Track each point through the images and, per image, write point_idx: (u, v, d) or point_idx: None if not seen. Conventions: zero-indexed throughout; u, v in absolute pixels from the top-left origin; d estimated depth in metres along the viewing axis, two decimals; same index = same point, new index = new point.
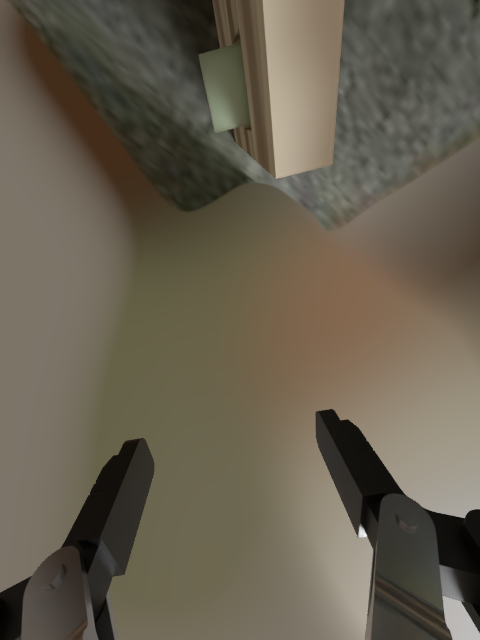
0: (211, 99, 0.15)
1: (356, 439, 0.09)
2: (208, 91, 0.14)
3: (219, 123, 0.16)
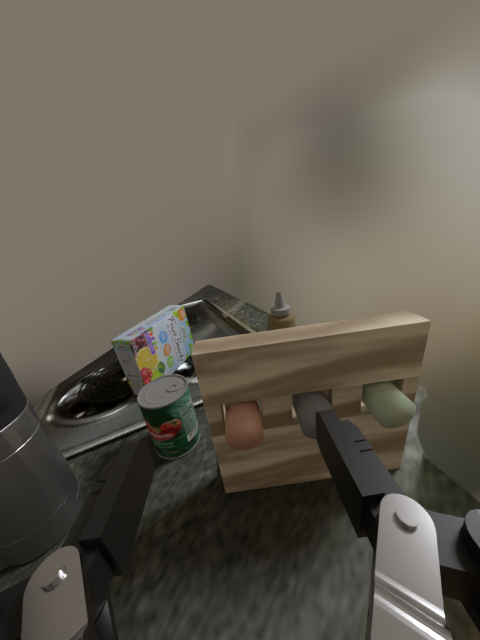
0: (399, 397, 0.23)
1: (356, 439, 0.09)
2: (396, 399, 0.23)
3: (409, 399, 0.23)
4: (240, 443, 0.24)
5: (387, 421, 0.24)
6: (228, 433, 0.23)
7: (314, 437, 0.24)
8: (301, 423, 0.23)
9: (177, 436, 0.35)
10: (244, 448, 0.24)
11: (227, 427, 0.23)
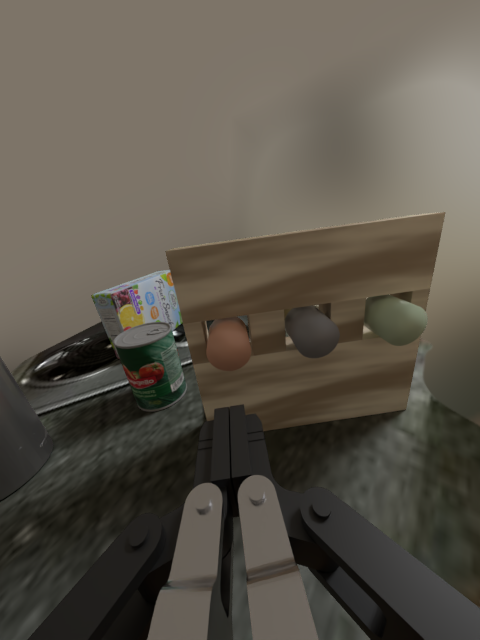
0: (409, 304, 0.20)
1: (254, 430, 0.10)
2: (405, 305, 0.20)
3: None
4: (224, 362, 0.20)
5: (394, 335, 0.20)
6: (209, 347, 0.20)
7: (310, 355, 0.21)
8: (295, 336, 0.20)
9: (159, 383, 0.31)
10: (229, 368, 0.21)
11: (208, 341, 0.20)
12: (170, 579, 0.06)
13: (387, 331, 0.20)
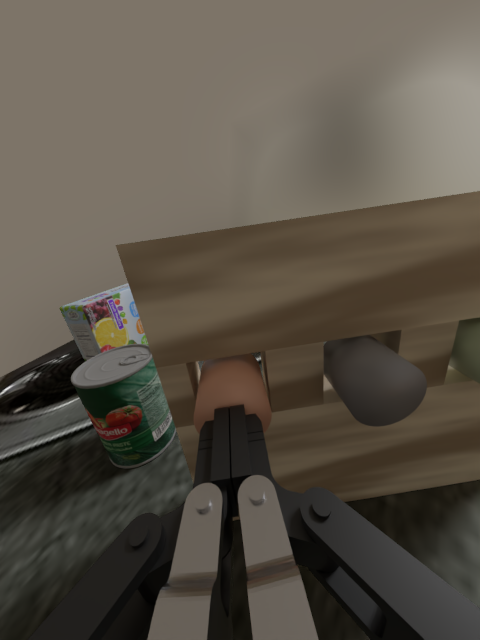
0: None
1: (254, 430, 0.10)
2: None
3: None
4: None
5: None
6: (199, 413, 0.11)
7: (373, 422, 0.12)
8: (349, 393, 0.11)
9: (136, 432, 0.23)
10: None
11: (198, 400, 0.11)
12: (170, 579, 0.06)
13: None
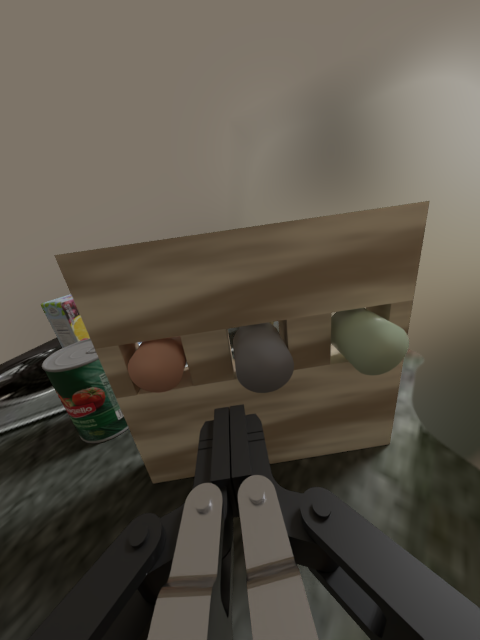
0: (384, 323, 0.15)
1: (254, 430, 0.10)
2: (379, 324, 0.15)
3: None
4: (151, 382, 0.17)
5: (366, 363, 0.16)
6: (131, 366, 0.17)
7: (258, 389, 0.16)
8: (235, 366, 0.15)
9: (100, 410, 0.27)
10: (159, 390, 0.18)
11: (131, 358, 0.17)
12: (170, 579, 0.06)
13: (357, 357, 0.15)
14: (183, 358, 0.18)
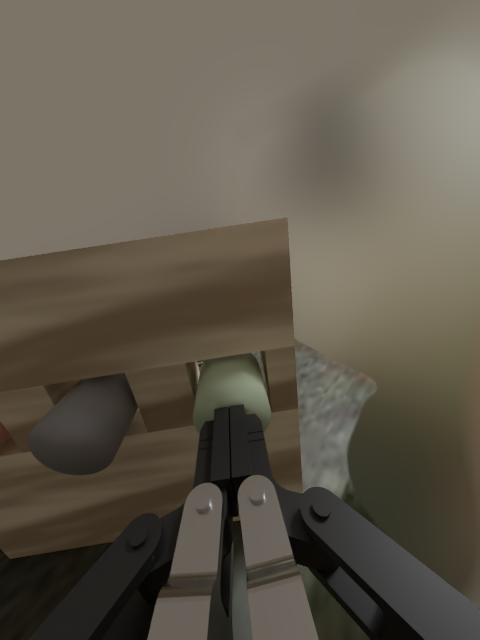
0: (230, 383, 0.11)
1: (254, 430, 0.10)
2: (222, 385, 0.11)
3: (256, 386, 0.11)
4: None
5: None
6: None
7: (73, 471, 0.12)
8: None
9: None
10: None
11: None
12: (170, 579, 0.06)
13: None
14: None
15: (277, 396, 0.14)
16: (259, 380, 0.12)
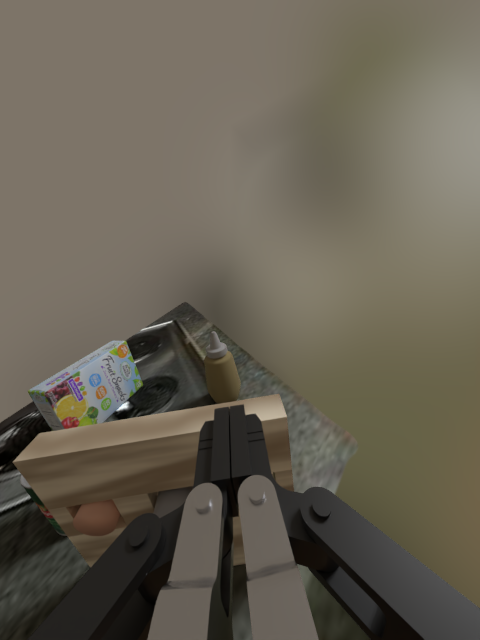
0: None
1: (254, 430, 0.10)
2: None
3: None
4: (92, 530, 0.22)
5: None
6: (75, 522, 0.22)
7: None
8: None
9: None
10: (99, 534, 0.23)
11: None
12: (170, 579, 0.06)
13: None
14: None
15: None
16: None
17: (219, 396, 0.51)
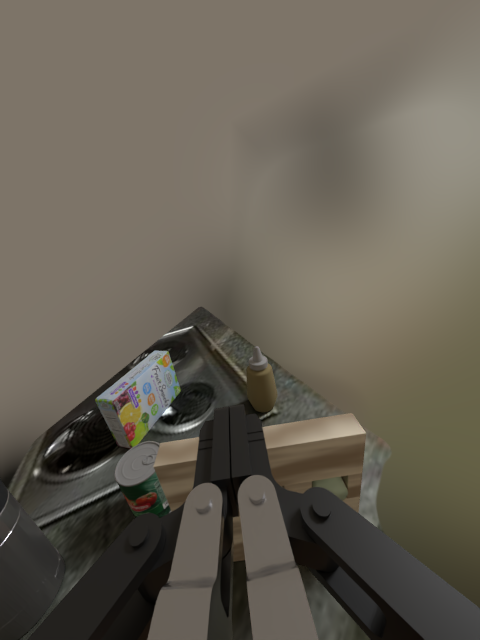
0: (333, 483, 0.27)
1: (254, 430, 0.10)
2: (330, 484, 0.27)
3: (342, 482, 0.28)
4: None
5: None
6: None
7: None
8: None
9: (153, 506, 0.37)
10: None
11: None
12: (170, 579, 0.06)
13: None
14: None
15: (350, 492, 0.29)
16: (340, 477, 0.29)
17: (260, 404, 0.56)
